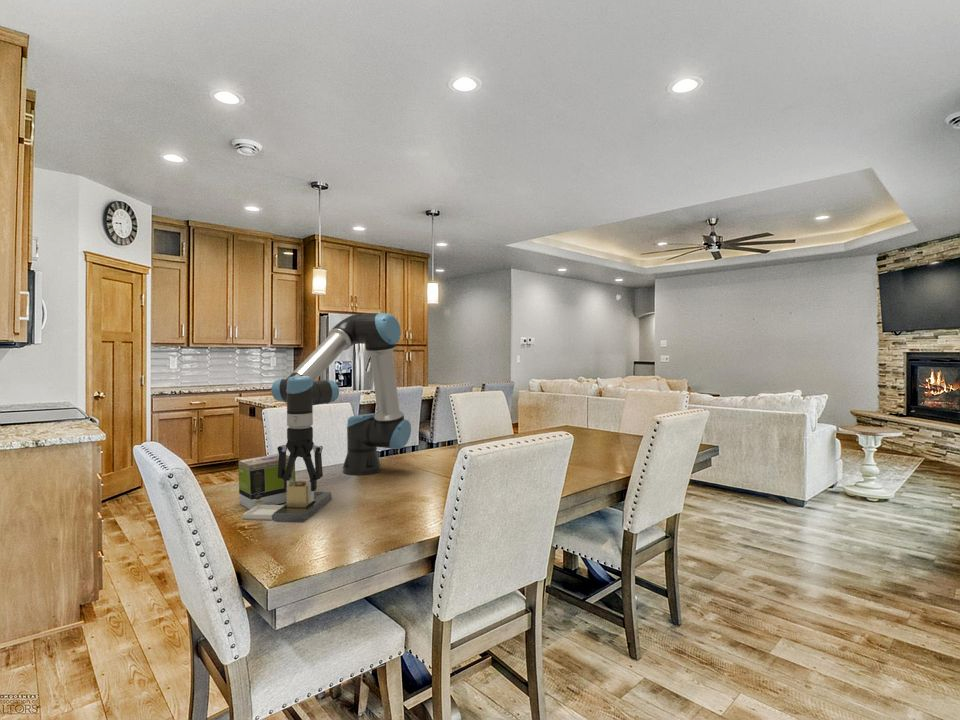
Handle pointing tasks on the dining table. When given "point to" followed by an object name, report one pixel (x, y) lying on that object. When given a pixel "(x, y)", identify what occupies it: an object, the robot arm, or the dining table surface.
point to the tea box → (262, 481)
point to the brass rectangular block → (298, 495)
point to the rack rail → (302, 514)
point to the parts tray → (262, 512)
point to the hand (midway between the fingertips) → (300, 500)
